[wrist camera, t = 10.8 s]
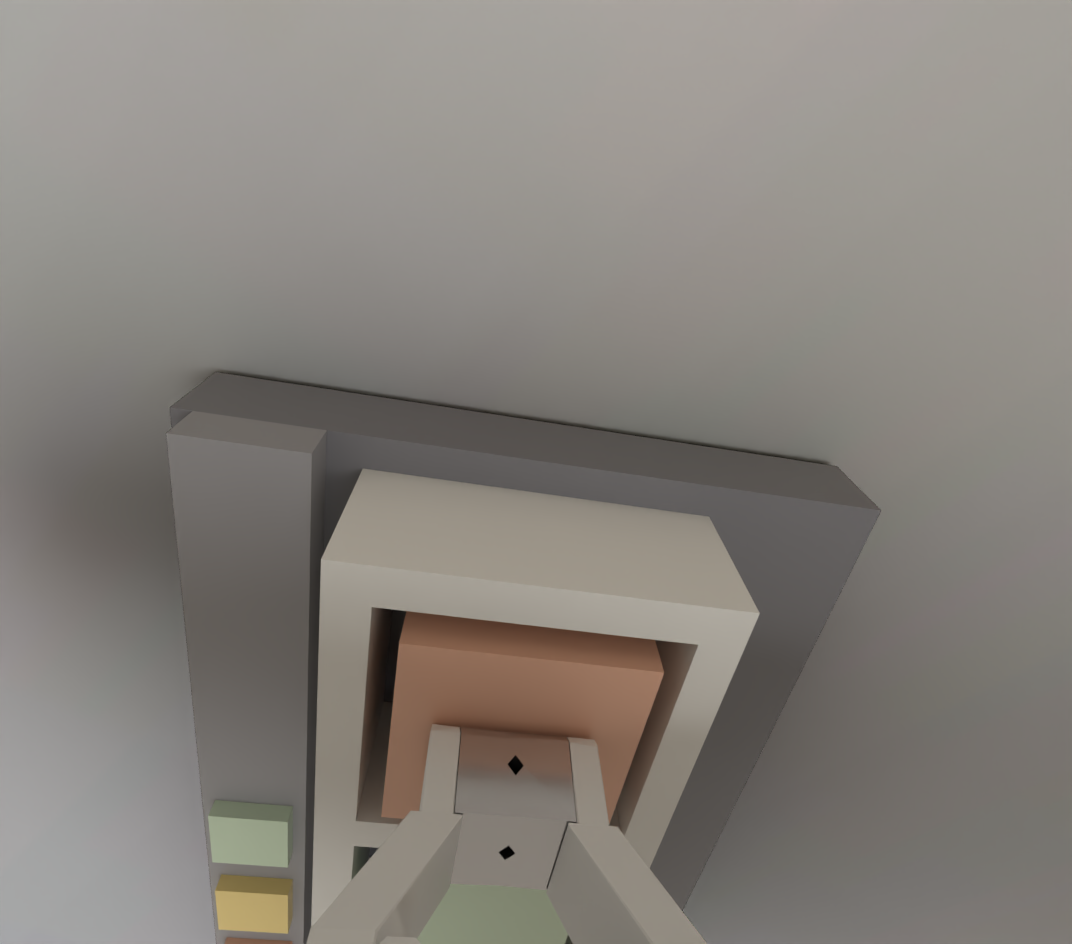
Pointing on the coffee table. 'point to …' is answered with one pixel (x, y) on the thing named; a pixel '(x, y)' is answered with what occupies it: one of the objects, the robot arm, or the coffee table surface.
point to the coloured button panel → (470, 610)
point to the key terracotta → (516, 693)
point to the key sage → (493, 917)
